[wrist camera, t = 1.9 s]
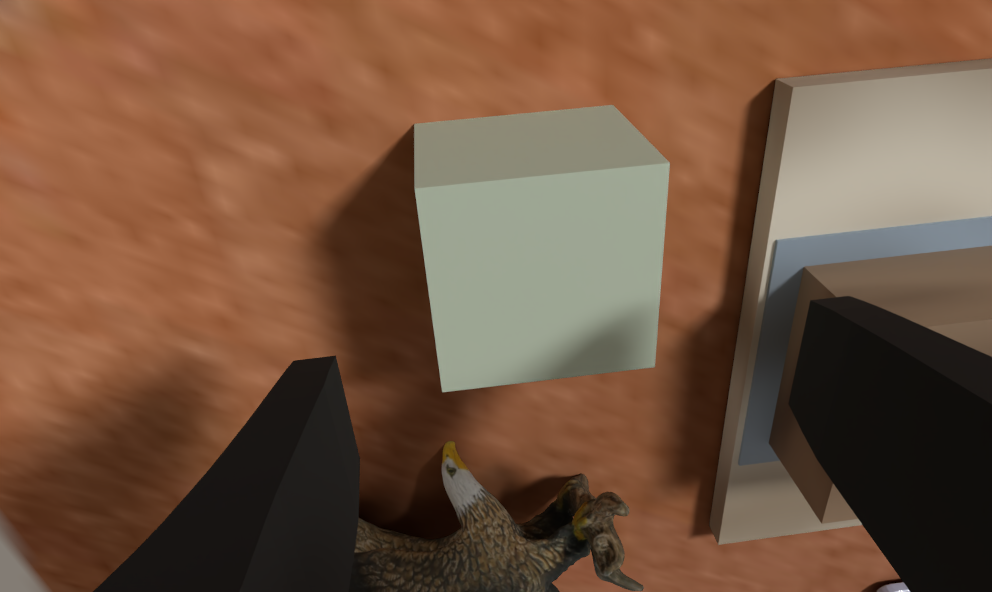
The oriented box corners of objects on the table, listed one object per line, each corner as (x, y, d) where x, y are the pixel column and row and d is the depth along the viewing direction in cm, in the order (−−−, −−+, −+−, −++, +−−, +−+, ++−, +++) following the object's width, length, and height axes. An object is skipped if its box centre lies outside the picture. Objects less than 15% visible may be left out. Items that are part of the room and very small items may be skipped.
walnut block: (959, 418, 20) (1039, 493, 18) (768, 443, 20) (821, 523, 17) (1029, 241, 17) (1138, 301, 14) (803, 266, 17) (874, 333, 14)
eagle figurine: (557, 355, 17) (219, 498, 16) (701, 645, 14) (294, 842, 13) (555, 430, 24) (317, 534, 23) (651, 635, 21) (382, 765, 20)
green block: (607, 275, 17) (654, 367, 14) (436, 294, 17) (441, 392, 14) (612, 103, 15) (669, 163, 12) (414, 122, 15) (414, 188, 11)
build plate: (1038, 480, 24) (1059, 500, 23) (709, 525, 23) (719, 547, 22) (1264, 32, 16) (1307, 39, 15) (776, 78, 15) (795, 88, 14)
